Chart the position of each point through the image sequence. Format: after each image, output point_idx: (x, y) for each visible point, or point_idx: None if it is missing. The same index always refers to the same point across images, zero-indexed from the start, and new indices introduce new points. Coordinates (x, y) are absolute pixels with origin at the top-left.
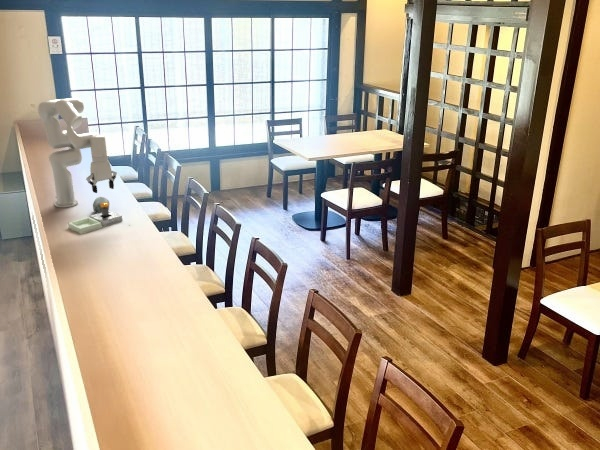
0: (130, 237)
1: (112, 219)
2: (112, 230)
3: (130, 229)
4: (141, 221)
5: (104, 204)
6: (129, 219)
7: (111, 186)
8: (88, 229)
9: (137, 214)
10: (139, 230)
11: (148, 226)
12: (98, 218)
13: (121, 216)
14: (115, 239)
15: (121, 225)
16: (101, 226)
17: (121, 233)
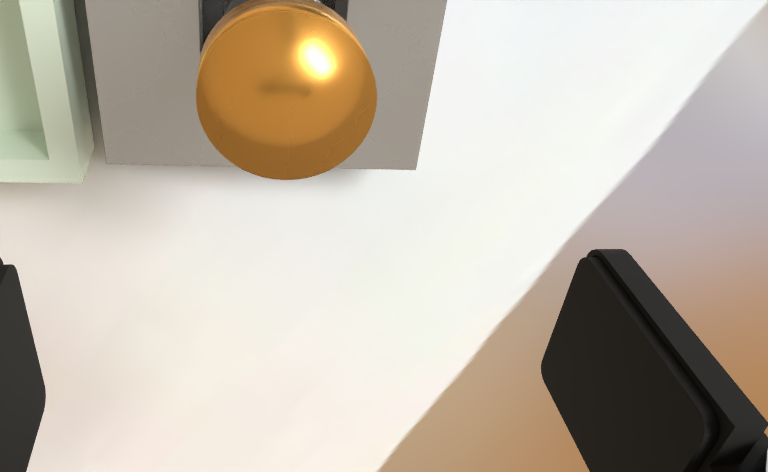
0: (183, 462)
1: None
2: (149, 281)
3: (292, 353)
4: (495, 271)
5: (254, 150)
6: (477, 155)
7: (573, 394)
8: None
9: (645, 93)
10: (328, 403)
11: (435, 382)
12: (123, 32)
13: (407, 165)
14: (60, 438)
15: (301, 234)
16: (88, 154)
17: (175, 376)
